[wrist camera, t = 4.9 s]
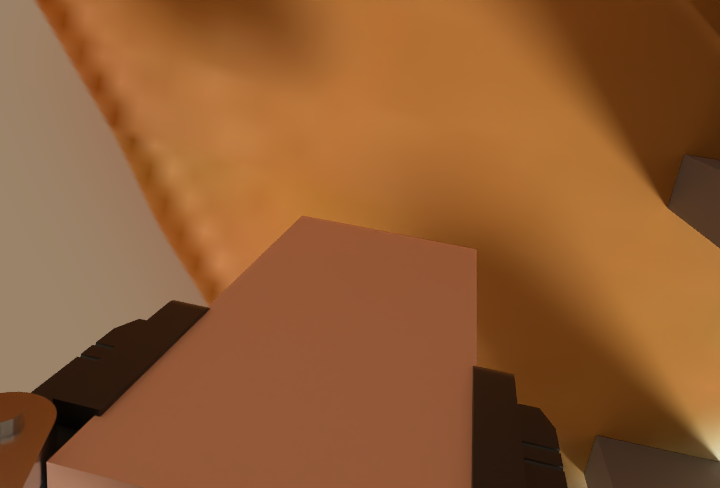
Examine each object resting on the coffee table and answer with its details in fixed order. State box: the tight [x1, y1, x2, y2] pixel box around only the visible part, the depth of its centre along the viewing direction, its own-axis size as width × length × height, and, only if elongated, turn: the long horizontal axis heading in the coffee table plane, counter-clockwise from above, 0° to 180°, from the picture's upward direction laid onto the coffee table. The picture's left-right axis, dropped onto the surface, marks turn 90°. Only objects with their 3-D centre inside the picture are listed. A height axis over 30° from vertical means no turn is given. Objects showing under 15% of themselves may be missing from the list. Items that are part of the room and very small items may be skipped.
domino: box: [47, 216, 477, 488], centre depth 12 cm, size 2×5×11 cm, turn 82°
